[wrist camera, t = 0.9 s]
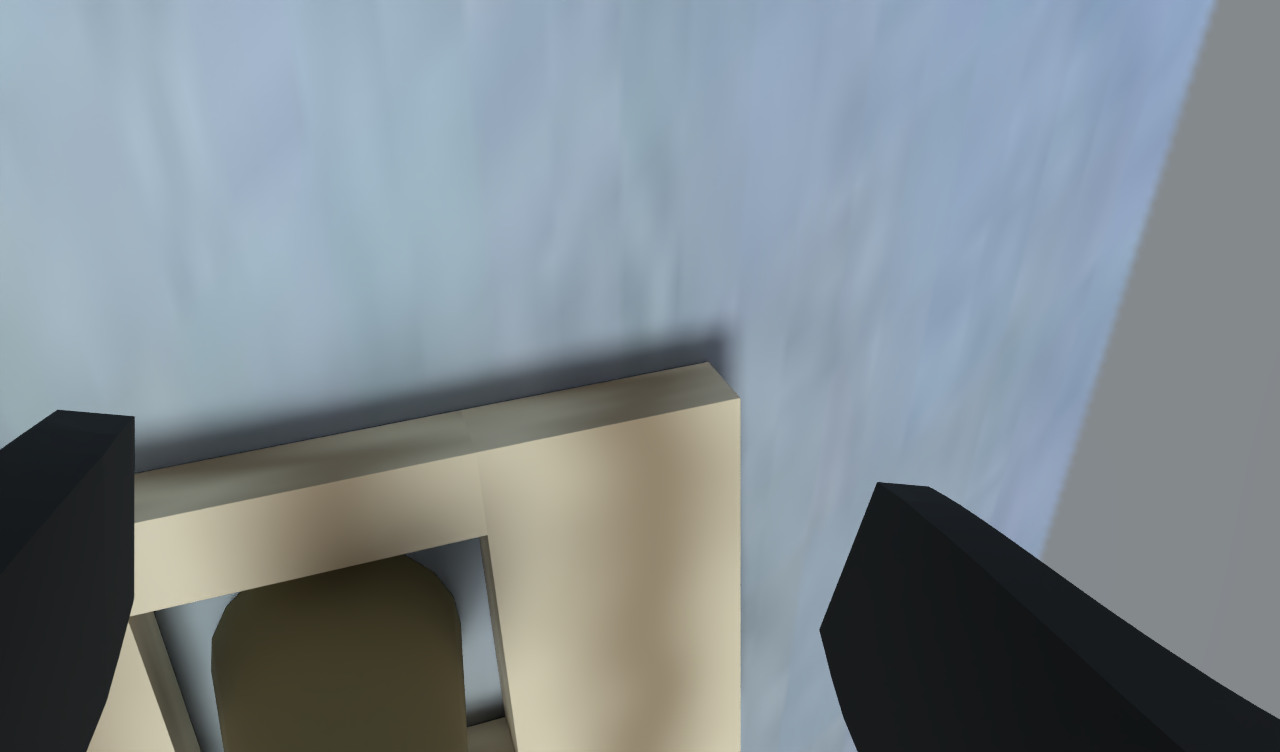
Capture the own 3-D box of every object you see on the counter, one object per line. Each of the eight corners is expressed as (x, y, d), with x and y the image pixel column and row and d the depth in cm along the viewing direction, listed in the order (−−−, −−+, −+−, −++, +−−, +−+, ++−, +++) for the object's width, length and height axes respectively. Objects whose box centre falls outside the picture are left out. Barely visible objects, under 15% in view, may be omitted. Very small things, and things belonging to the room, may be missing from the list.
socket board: (-22, 927, 26) (-41, 1002, 25) (-230, 544, 21) (-273, 606, 19) (714, 714, 31) (740, 764, 30) (708, 361, 26) (740, 397, 24)
